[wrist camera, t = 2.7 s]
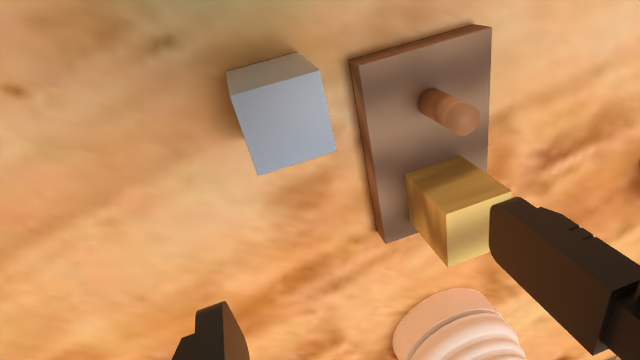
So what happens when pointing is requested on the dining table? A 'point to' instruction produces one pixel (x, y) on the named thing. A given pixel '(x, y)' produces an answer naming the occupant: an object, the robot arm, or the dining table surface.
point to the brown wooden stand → (430, 140)
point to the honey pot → (455, 330)
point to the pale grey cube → (281, 111)
